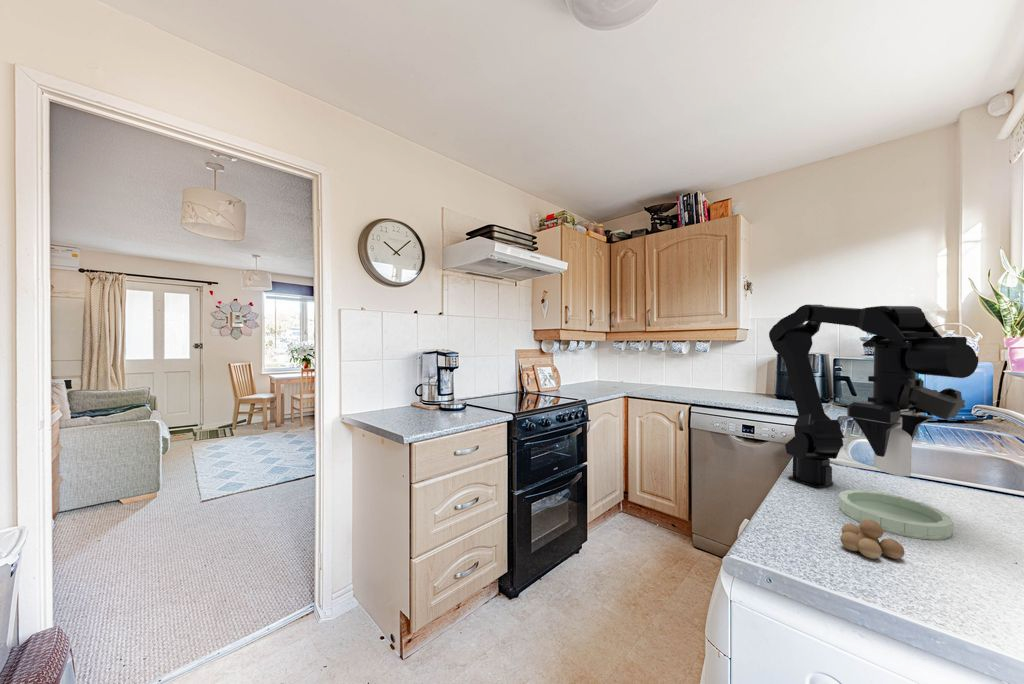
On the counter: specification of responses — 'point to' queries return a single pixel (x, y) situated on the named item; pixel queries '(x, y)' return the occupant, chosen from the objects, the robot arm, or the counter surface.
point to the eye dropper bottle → (896, 453)
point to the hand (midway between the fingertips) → (892, 453)
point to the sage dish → (896, 514)
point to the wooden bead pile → (870, 540)
